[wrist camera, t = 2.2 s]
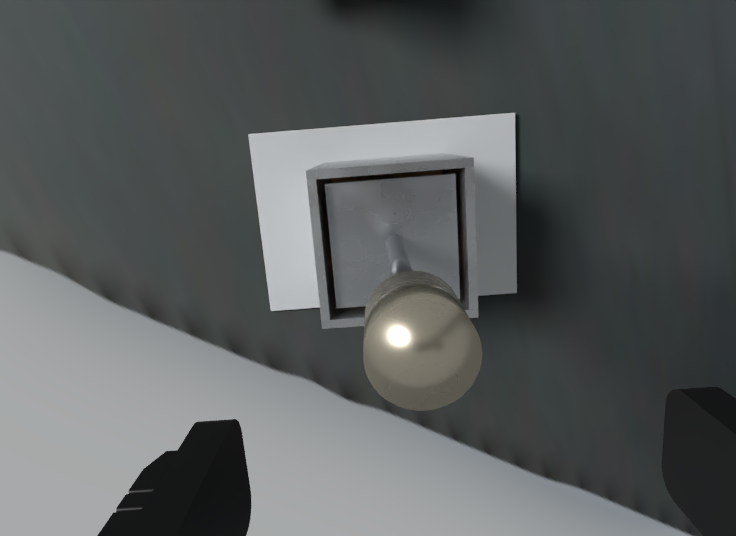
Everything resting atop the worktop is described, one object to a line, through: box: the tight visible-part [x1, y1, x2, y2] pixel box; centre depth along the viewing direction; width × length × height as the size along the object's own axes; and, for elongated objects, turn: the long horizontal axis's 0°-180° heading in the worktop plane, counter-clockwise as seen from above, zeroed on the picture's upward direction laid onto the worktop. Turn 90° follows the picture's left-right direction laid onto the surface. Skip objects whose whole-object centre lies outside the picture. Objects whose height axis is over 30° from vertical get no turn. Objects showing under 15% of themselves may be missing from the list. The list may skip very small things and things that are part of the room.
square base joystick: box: [306, 153, 478, 329], centre depth 35 cm, size 9×9×12 cm
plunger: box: [325, 173, 482, 411], centre depth 22 cm, size 7×7×17 cm
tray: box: [248, 113, 517, 311], centre depth 41 cm, size 20×14×1 cm
